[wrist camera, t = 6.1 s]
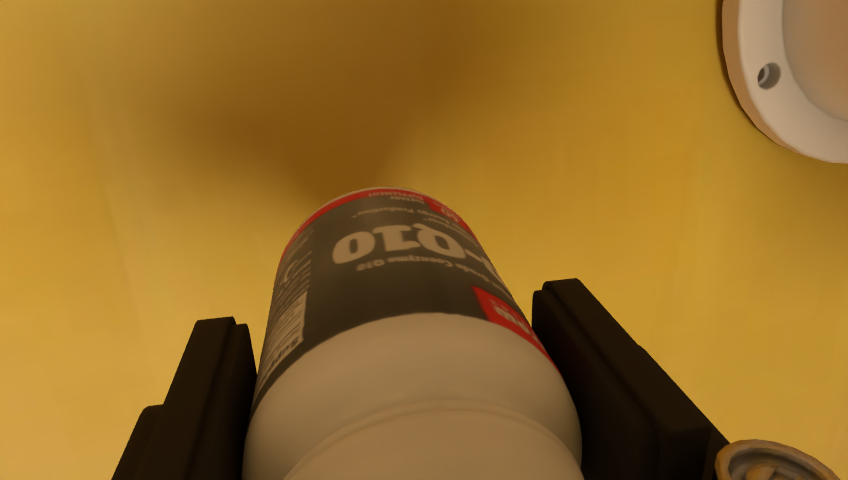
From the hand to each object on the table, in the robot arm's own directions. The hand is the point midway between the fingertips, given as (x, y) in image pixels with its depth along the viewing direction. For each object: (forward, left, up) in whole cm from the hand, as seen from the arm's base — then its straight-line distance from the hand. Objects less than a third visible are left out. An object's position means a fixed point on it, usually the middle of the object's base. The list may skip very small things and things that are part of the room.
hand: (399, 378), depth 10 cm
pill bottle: (0, 0, -4) cm, 4 cm away
